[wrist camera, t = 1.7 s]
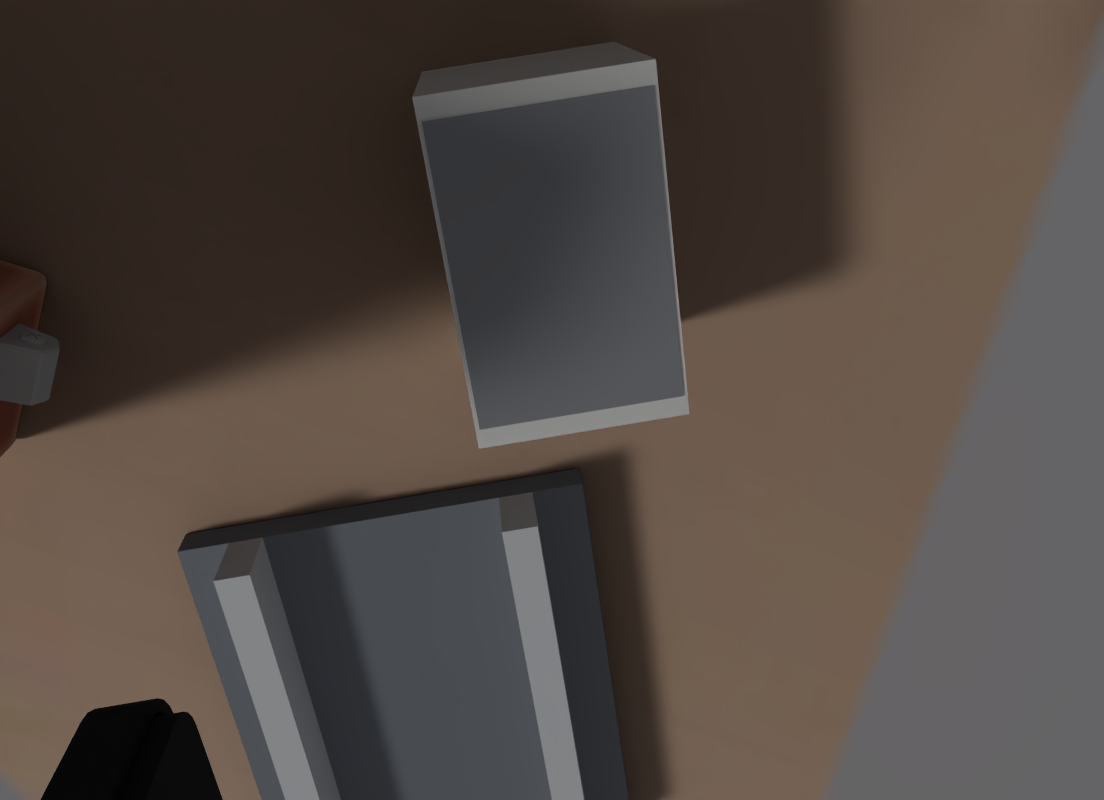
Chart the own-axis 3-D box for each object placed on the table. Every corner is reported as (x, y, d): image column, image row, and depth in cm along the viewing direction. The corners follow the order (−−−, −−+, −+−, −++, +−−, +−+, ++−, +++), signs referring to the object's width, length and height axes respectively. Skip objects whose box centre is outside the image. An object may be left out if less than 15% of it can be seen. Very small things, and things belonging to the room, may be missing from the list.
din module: (422, 71, 26) (412, 97, 20) (613, 41, 26) (656, 59, 20) (475, 358, 29) (479, 449, 23) (645, 331, 29) (689, 414, 23)
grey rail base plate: (185, 534, 30) (158, 590, 27) (578, 468, 30) (591, 517, 28) (297, 869, 36) (284, 943, 33) (629, 810, 36) (643, 879, 33)
